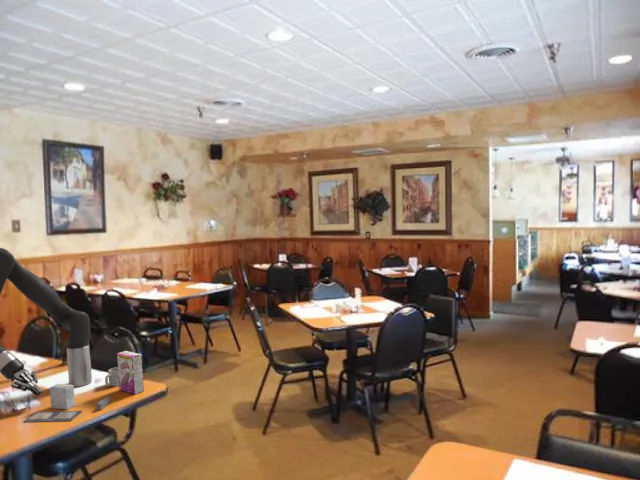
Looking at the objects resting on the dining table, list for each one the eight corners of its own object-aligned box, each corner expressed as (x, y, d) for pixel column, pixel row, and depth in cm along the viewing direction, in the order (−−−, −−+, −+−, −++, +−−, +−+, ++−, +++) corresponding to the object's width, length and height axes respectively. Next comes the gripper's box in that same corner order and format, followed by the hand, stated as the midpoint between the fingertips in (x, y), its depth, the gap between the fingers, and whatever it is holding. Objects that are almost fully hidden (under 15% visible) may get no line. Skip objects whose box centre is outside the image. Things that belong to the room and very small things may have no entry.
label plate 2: (59, 412, 192) (59, 411, 192) (82, 412, 192) (82, 410, 192) (47, 421, 184) (47, 419, 184) (71, 420, 184) (71, 419, 184)
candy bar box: (118, 390, 214) (116, 353, 213) (128, 386, 218) (126, 350, 217) (134, 395, 208) (132, 356, 207) (144, 391, 212) (142, 353, 211)
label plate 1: (36, 413, 193) (36, 411, 193) (59, 412, 192) (59, 411, 192) (23, 422, 185) (23, 420, 185) (47, 421, 184) (47, 419, 184)
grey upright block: (75, 405, 199) (74, 384, 198) (67, 410, 195) (65, 388, 194) (59, 404, 201) (58, 383, 201) (50, 408, 197) (49, 387, 196)
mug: (116, 380, 227) (115, 366, 227) (128, 381, 225) (127, 367, 225) (100, 388, 218) (99, 373, 218) (112, 389, 216) (111, 374, 215)
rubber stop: (106, 402, 201) (106, 396, 201) (110, 402, 201) (110, 396, 201) (97, 410, 193) (96, 403, 193) (101, 410, 193) (100, 403, 193)
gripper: (2, 362, 190) (36, 393, 191) (24, 353, 204) (55, 381, 204) (-10, 376, 191) (23, 407, 191) (12, 366, 204) (43, 394, 204)
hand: (40, 394), depth 198 cm, fingers closed
